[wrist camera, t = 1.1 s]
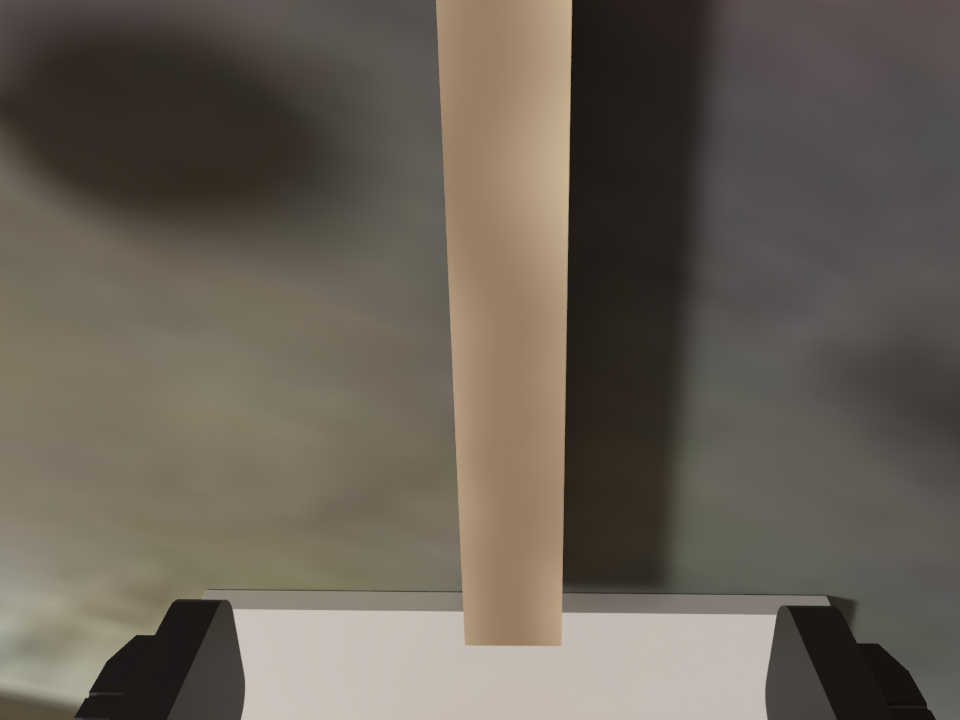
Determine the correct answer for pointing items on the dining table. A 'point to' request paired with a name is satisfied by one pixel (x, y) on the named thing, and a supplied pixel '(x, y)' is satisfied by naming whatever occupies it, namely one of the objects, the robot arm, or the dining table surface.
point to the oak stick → (508, 304)
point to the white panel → (503, 658)
